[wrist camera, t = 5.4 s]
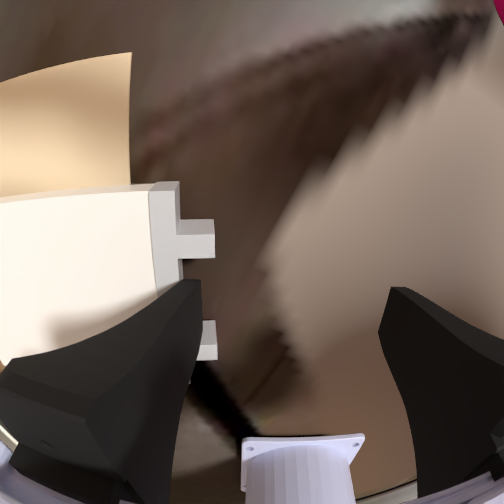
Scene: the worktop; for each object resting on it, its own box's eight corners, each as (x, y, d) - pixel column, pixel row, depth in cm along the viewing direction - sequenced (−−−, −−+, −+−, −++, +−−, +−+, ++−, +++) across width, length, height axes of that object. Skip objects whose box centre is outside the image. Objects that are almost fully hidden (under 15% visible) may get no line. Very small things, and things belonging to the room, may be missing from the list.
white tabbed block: (215, 347, 14) (218, 382, 12) (17, 338, 13) (-1, 366, 10) (213, 177, 11) (214, 190, 9) (-23, 196, 10) (-53, 212, 7)
